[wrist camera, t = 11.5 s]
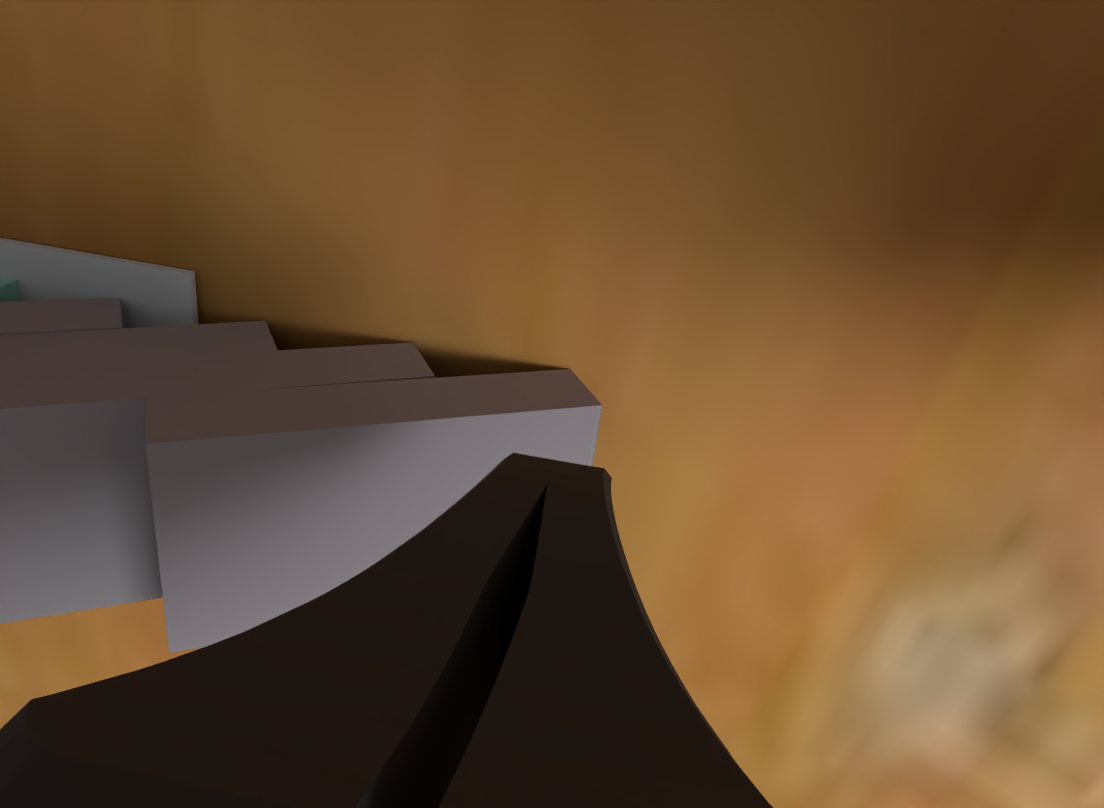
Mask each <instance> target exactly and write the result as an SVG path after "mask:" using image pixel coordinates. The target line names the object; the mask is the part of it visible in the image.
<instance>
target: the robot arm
mask: <svg viewBox="0 0 1104 808" xmlns="http://www.w3.org/2000/svg"><path fill="white" fill-rule="evenodd" d="M611 479H612V478H611V476H610V475H609V474H608V472H607V471H606V470H605V469H604V468H599V467H593V466H587V465H581V464H576V463H570V462H564V461H558V460H553V459H547V458H541V457H535V456H530V455H524V454H518V453H512V454H511V455H509V456H508V457H506V458H505V459H503V460H502V461H501V462H500V463H499V464H498V465H497V466H496V467H495V468H494V469H493V470H492V471H491V472H490V473H489V474H488V475H487V476H485V477H484V478H483V479H482V480H481V481H480V482H479V483H478V484H477V485H476V486H474V487H473V488H472V489H471V490H470V491H469V492H468V493H467V494H465V495H464V496H463V497H462V498H461V499H460V500H458V501H457V502H456V503H455V504H454V505H452V506H451V507H450V508H449V509H447V510H446V511H445V512H444V513H443V514H441V515H440V516H439V517H438V518H436V519H435V520H434V521H433V522H432V523H430V524H429V525H428V526H427V527H425V528H424V529H423V530H421V531H420V532H419V533H417V534H416V535H414V536H413V537H412V538H410V539H409V540H407V541H406V542H405V543H403V544H402V545H400V546H399V547H398V548H396V549H395V550H393V551H392V552H391V553H389V554H388V555H387V556H385V557H384V558H382V559H381V560H379V561H378V562H376V563H375V564H373V565H372V566H370V567H369V568H367V569H365V570H364V571H362V572H361V573H359V574H358V575H356V576H354V577H353V578H351V579H349V580H348V581H346V582H344V583H342V584H341V585H339V586H337V587H335V588H334V589H332V590H330V591H328V592H327V593H325V594H323V595H321V596H319V597H317V598H315V599H313V600H311V601H309V602H307V603H305V604H303V605H301V606H298V607H296V608H294V609H292V610H290V611H288V612H286V613H283V614H281V615H279V616H277V617H275V618H273V619H271V620H268V621H266V622H264V623H262V624H260V625H258V626H256V627H253V628H251V629H249V630H247V631H244V632H242V633H240V634H237V635H235V636H232V637H229V638H227V639H224V640H222V641H219V642H217V643H214V644H212V645H209V646H207V647H204V648H201V649H198V650H196V651H193V652H190V653H187V654H184V655H181V656H179V657H176V658H173V659H170V660H167V661H164V662H162V663H158V664H155V665H152V666H149V667H146V668H143V669H140V670H137V671H133V672H130V673H126V674H123V675H119V676H116V677H112V678H109V679H105V680H102V681H98V682H95V683H91V684H87V685H84V686H80V687H77V688H73V689H70V690H66V691H63V692H59V693H56V694H52V695H48V696H44V697H40V698H36V699H32V700H30V701H29V702H28V703H27V704H26V705H25V706H24V707H23V708H22V709H21V710H20V711H19V712H18V713H17V714H16V715H15V716H14V717H13V718H12V719H11V720H10V721H9V722H8V723H7V724H5V725H4V726H3V727H2V728H1V729H0V808H773V807H772V806H771V805H770V804H769V803H768V802H767V800H766V799H765V798H764V797H763V795H762V794H761V793H760V792H759V790H758V789H757V788H756V787H755V786H754V784H753V783H752V782H751V781H750V779H749V778H748V777H747V776H746V774H745V773H744V772H743V771H742V769H741V768H740V767H739V766H738V764H737V763H736V761H735V760H734V759H733V757H732V756H731V754H730V753H729V752H728V750H727V749H726V747H725V746H724V744H723V743H722V742H721V740H720V739H719V737H718V736H717V734H716V733H715V732H714V730H713V729H712V727H711V726H710V724H709V723H708V722H707V720H706V719H705V717H704V716H703V714H702V713H701V712H700V710H699V709H698V707H697V706H696V704H695V703H694V701H693V699H692V698H691V696H690V694H689V693H688V691H687V689H686V688H685V686H684V684H683V683H682V681H681V679H680V678H679V676H678V674H677V673H676V671H675V669H674V667H673V665H672V664H671V662H670V660H669V658H668V656H667V654H666V652H665V650H664V649H663V647H662V645H661V643H660V641H659V639H658V637H657V635H656V633H655V631H654V628H653V626H652V624H651V622H650V620H649V617H648V615H647V613H646V611H645V608H644V606H643V603H642V601H641V598H640V596H639V594H638V591H637V589H636V586H635V583H634V581H633V578H632V575H631V572H630V570H629V566H628V563H627V560H626V557H625V554H624V551H623V547H622V544H621V541H620V537H619V533H618V530H617V526H616V521H615V516H614V511H613V505H612V498H611Z"/></svg>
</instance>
